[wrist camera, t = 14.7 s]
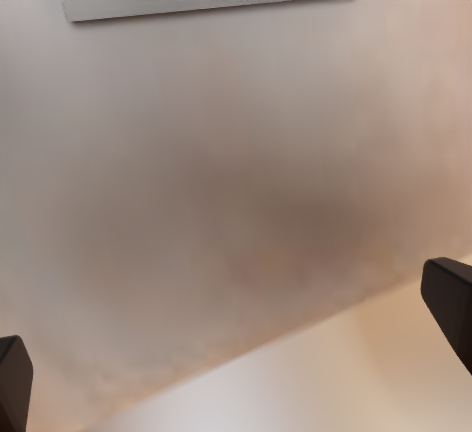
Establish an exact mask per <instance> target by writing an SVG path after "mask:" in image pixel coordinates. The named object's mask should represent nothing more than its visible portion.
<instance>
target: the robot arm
mask: <svg viewBox="0 0 472 432" xmlns="http://www.w3.org/2000/svg"><path fill="white" fill-rule="evenodd" d="M421 295H422V298H423V300H424V302H425V303H426V305H427V307H428V308H429V310H430V312H431V313H432V315H433V317H434V318H435V320H436V322H437V323H438V325H439V327H440V328H441V330H442V332H443V333H444V335H445V337H446V338H447V340H448V342H449V343H450V345H451V347H452V348H453V350H454V351H455V353H456V354H457V356H458V357H459V359H460V360H461V361H462V363H463V364H464V365H465V367H466V368H467V370H468V371H469V372H470V374H471V375H472V266H470V265H467V264H464V263H461V262H458V261H455V260H452V259H449V258H446V257H439V258H433V259H428V260H427V261H426V262H425V263H424V267H423V274H422V281H421ZM32 380H33V366H32V362H31V360H30V357H29V355H28V353H27V350H26V348H25V345H24V343H23V340H22V339H21V337H20V336H18V335H12V336H7V337H1V338H0V432H25V431H26V424H27V417H28V409H29V402H30V395H31V387H32Z"/></svg>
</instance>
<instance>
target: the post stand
mask: <svg viewBox="0 0 472 432" xmlns="http://www.w3.org/2000/svg"><path fill="white" fill-rule="evenodd" d="M280 1H290V0H62V4H63V8H64V12H65V16H66V20H67V22H72V21H83V20H93V19H103V18H114V17H124V16H134V15H145V14H155V13H166V12H176V11H186V10H197V9H207V8H217V7H228V6H238V5H248V4H259V3H269V2H280Z"/></svg>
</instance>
